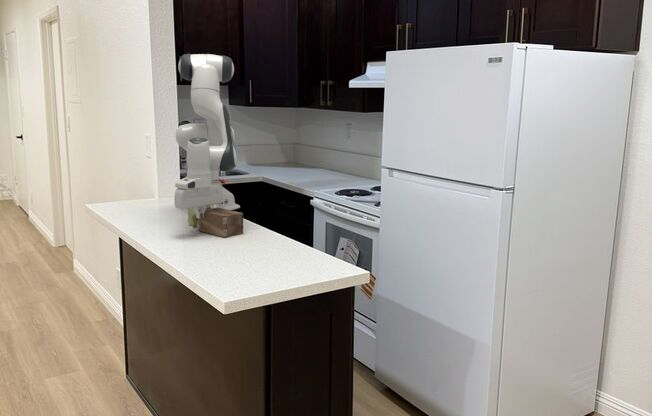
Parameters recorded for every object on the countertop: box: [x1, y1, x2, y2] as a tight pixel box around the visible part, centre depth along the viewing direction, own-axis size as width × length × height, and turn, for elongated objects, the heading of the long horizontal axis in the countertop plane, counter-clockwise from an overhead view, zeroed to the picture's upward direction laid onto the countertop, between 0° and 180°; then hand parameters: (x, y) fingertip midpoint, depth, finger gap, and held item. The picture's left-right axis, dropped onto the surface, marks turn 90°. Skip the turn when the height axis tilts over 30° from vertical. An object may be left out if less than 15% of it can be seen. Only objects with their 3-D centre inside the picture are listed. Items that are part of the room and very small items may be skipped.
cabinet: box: [205, 208, 244, 238], centre depth 226 cm, size 8×15×8 cm, turn 49°
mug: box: [186, 205, 211, 227], centre depth 237 cm, size 12×10×10 cm
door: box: [196, 210, 227, 238], centre depth 222 cm, size 2×16×8 cm, turn 50°
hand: (200, 217), depth 223 cm, fingers closed
